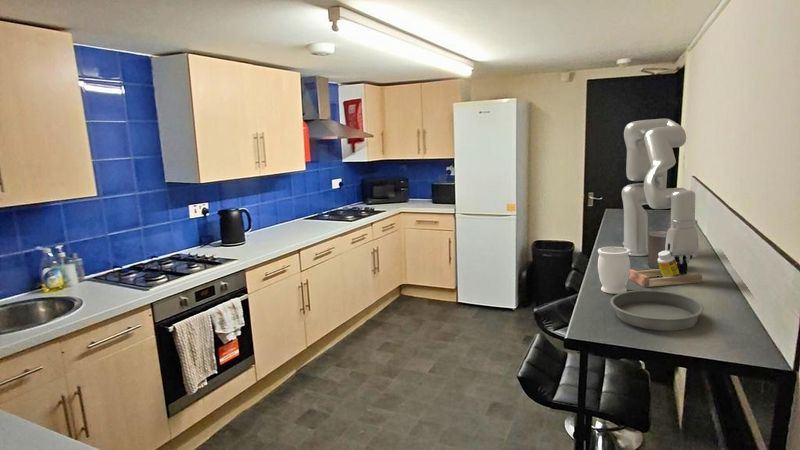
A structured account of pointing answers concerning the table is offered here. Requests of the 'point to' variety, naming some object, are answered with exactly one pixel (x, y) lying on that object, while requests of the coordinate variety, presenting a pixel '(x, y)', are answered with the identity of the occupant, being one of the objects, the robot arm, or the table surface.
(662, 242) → the pillar candle
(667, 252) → the supplement bottle
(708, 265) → the table surface
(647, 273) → the channel
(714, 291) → the table surface
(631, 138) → the robot arm
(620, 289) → the jar
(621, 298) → the cake pan
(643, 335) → the table surface
